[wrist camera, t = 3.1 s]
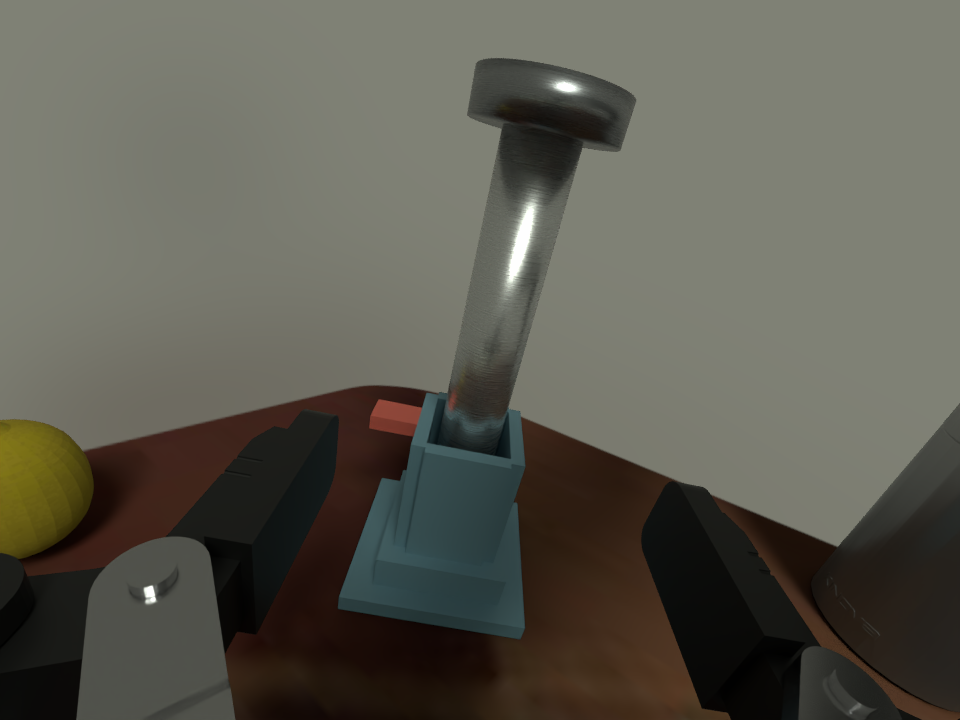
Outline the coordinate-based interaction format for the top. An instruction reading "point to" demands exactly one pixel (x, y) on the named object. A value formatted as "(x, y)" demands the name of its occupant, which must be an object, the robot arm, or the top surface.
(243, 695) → the top surface
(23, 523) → the lemon
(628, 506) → the top surface
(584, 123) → the column
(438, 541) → the stand base
